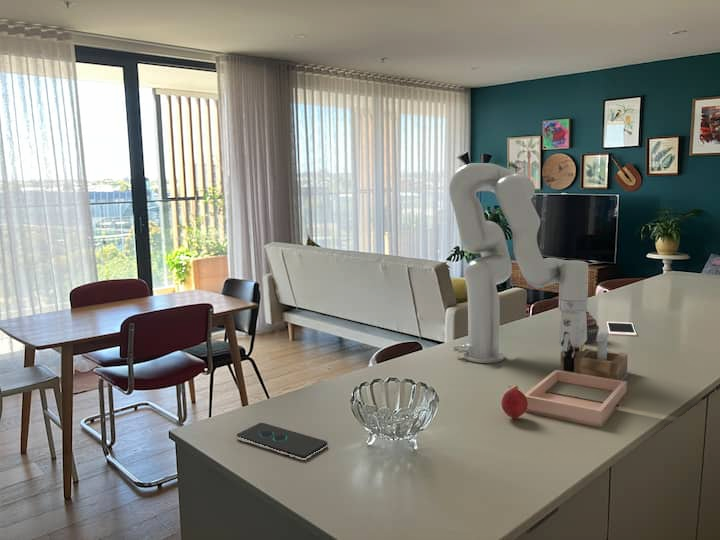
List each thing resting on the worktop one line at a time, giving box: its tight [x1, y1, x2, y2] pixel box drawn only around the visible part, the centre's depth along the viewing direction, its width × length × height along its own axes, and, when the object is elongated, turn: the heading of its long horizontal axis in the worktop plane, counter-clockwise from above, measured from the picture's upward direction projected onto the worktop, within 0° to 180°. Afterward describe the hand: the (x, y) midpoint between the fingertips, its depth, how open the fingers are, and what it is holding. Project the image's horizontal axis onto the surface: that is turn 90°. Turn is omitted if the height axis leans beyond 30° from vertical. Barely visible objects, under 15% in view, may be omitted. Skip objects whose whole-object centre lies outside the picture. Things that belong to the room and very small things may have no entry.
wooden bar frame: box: [560, 348, 628, 380], centre depth 163 cm, size 16×11×5 cm
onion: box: [501, 385, 528, 420], centre depth 136 cm, size 6×6×8 cm
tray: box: [523, 369, 628, 429], centre depth 145 cm, size 23×18×4 cm
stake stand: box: [558, 331, 631, 381], centre depth 163 cm, size 17×13×12 cm
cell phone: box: [606, 321, 638, 337], centre depth 213 cm, size 9×18×1 cm, turn 160°
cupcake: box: [584, 311, 600, 344], centre depth 200 cm, size 10×10×10 cm
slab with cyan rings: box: [236, 422, 328, 458], centre depth 128 cm, size 8×2×20 cm
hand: (571, 368), depth 167 cm, fingers closed on wooden bar frame, 3 cm apart
